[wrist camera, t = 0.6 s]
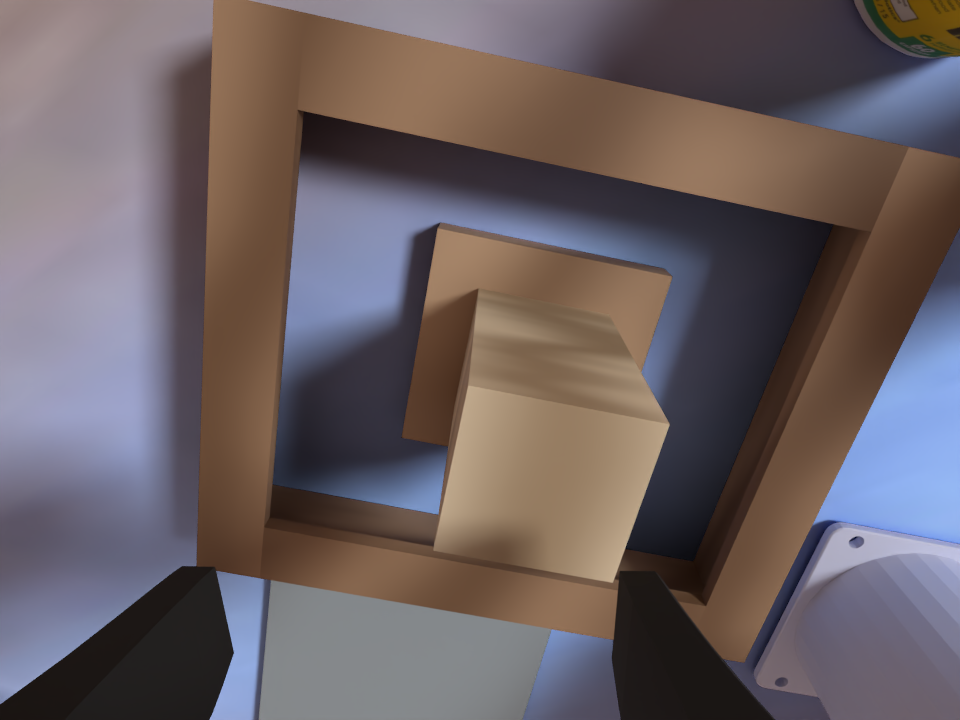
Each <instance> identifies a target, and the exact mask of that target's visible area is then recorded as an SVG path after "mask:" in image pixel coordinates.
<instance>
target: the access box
mask: <svg viewBox="0 0 960 720" xmlns="http://www.w3.org/2000/svg"><path fill="white" fill-rule="evenodd" d="M304 111H306V112H310V113H315V114H320V115H324V116H329V117H334V118H338V119H343V120H348V121H352V122H357V123H362V124H367V125H371V126H376V127H381V128H385V129H390V130H395V131H399V132H404V133H409V134H413V135H418V136H423V137H427V138H432V139H437V140H442V141H446V142H451V143H456V144H460V145H465V146H470V147H474V148H479V149H484V150H488V151H493V152H498V153H502V154H507V155H512V156H516V157H521V158H526V159H531V160H535V161H540V162H545V163H549V164H554V165H559V166H563V167H568V168H573V169H577V170H582V171H587V172H591V173H596V174H601V175H605V176H610V177H615V178H620V179H624V180H629V181H634V182H638V183H643V184H648V185H652V186H657V187H662V188H666V189H671V190H676V191H680V192H685V193H690V194H694V195H699V196H704V197H709V198H713V199H718V200H723V201H727V202H732V203H737V204H741V205H746V206H751V207H755V208H760V209H765V210H769V211H774V212H779V213H784V214H788V215H793V216H798V217H802V218H807V219H812V220H816V221H821V222H826V223H830V224H834V225H833V227H832V229H831V232H830V234H829V237H828V239H827V241H826V244H825V246H824V249H823V251H822V253H821V256H820V258H819V261H818V263H817V265H816V268H815V270H814V273H813V275H812V277H811V280H810V282H809V285H808V287H807V289H806V292H805V294H804V297H803V299H802V301H801V304H800V306H799V309H798V311H797V313H796V316H795V318H794V321H793V323H792V325H791V328H790V330H789V333H788V335H787V337H786V340H785V342H784V345H783V347H782V349H781V352H780V354H779V357H778V359H777V361H776V364H775V366H774V369H773V371H772V373H771V376H770V378H769V381H768V383H767V385H766V388H765V390H764V393H763V395H762V397H761V400H760V402H759V405H758V407H757V409H756V412H755V414H754V417H753V419H752V421H751V424H750V426H749V429H748V431H747V433H746V436H745V438H744V441H743V443H742V445H741V448H740V450H739V453H738V455H737V457H736V460H735V462H734V465H733V467H732V469H731V472H730V474H729V477H728V479H727V481H726V484H725V486H724V489H723V491H722V493H721V496H720V498H719V501H718V503H717V505H716V508H715V510H714V513H713V515H712V517H711V520H710V522H709V525H708V527H707V529H706V532H705V534H704V537H703V539H702V541H701V544H700V546H699V549H698V551H697V553H696V556H695V558H694V561H688V560H683V559H677V558H672V557H666V556H661V555H655V554H650V553H644V552H639V551H634V550H628V549H625V550H624V553H623V556H622V559H621V562H620V564H619V567H618V570H617V573H616V575H615V578H614V581H613V583H611V582H605V581H600V580H594V579H589V578H583V577H577V576H572V575H566V574H561V573H555V572H549V571H544V570H538V569H533V568H527V567H522V566H516V565H510V564H505V563H499V562H494V561H488V560H483V559H477V558H471V557H466V556H460V555H455V554H449V553H443V552H438V551H433V548H434V542H435V535H436V528H437V521H438V515H436V514H431V513H425V512H420V511H414V510H409V509H403V508H398V507H392V506H387V505H381V504H376V503H370V502H365V501H359V500H354V499H348V498H343V497H337V496H332V495H326V494H321V493H315V492H310V491H304V490H299V489H293V488H288V487H282V486H277V485H272V483H273V471H274V459H275V447H276V435H277V423H278V411H279V399H280V388H281V376H282V364H283V352H284V340H285V328H286V316H287V304H288V292H289V281H290V269H291V257H292V245H293V233H294V221H295V209H296V197H297V185H298V174H299V162H300V150H301V138H302V126H303V114H304ZM959 228H960V158H957V157H953V156H948V155H944V154H939V153H935V152H930V151H926V150H921V149H917V148H912V147H908V146H903V145H899V144H894V143H890V142H885V141H881V140H876V139H872V138H867V137H863V136H858V135H854V134H849V133H845V132H840V131H836V130H831V129H827V128H822V127H818V126H813V125H809V124H804V123H799V122H795V121H790V120H786V119H781V118H777V117H772V116H768V115H763V114H759V113H754V112H750V111H745V110H741V109H736V108H732V107H727V106H723V105H718V104H714V103H709V102H705V101H700V100H696V99H691V98H687V97H682V96H678V95H673V94H669V93H664V92H660V91H655V90H651V89H646V88H641V87H637V86H632V85H628V84H623V83H619V82H614V81H610V80H605V79H601V78H596V77H592V76H587V75H583V74H578V73H574V72H569V71H565V70H560V69H556V68H551V67H547V66H542V65H538V64H533V63H529V62H524V61H520V60H515V59H511V58H506V57H502V56H497V55H493V54H488V53H484V52H479V51H474V50H470V49H465V48H461V47H456V46H452V45H447V44H443V43H438V42H434V41H429V40H425V39H420V38H416V37H411V36H407V35H402V34H398V33H393V32H389V31H384V30H380V29H375V28H371V27H366V26H362V25H357V24H353V23H348V22H344V21H339V20H335V19H330V18H326V17H321V16H317V15H312V14H307V13H303V12H298V11H294V10H289V9H285V8H280V7H276V6H271V5H267V4H262V3H258V2H253V1H249V0H214V3H213V36H212V69H211V102H210V136H209V169H208V202H207V235H206V268H205V301H204V334H203V367H202V400H201V433H200V467H199V500H198V533H197V566H199V567H215V569H216V571H221V572H227V573H233V574H238V575H244V576H250V577H256V578H261V579H267V580H273V581H278V582H284V583H290V584H296V585H301V586H307V587H313V588H319V589H324V590H330V591H336V592H342V593H347V594H353V595H359V596H364V597H370V598H376V599H382V600H387V601H393V602H399V603H405V604H410V605H416V606H422V607H428V608H433V609H439V610H445V611H450V612H456V613H462V614H468V615H473V616H479V617H485V618H491V619H496V620H502V621H508V622H514V623H519V624H525V625H531V626H536V627H542V628H548V629H554V630H559V631H565V632H571V633H577V634H582V635H588V636H594V637H600V638H605V639H611V640H614V629H615V618H616V607H617V595H618V584H619V573H620V571H655V572H656V573H657V574H658V575H659V576H660V577H661V578H662V580H663V581H664V582H665V584H666V585H667V587H668V588H669V590H670V591H671V592H672V594H673V595H674V597H675V598H676V599H677V601H678V602H679V603H680V605H681V606H682V607H683V609H684V610H685V612H686V613H687V614H688V616H689V617H690V618H691V619H692V621H693V622H694V623H695V625H696V626H697V627H698V629H699V630H700V631H701V633H702V634H703V635H704V636H705V638H706V639H707V640H708V642H709V643H710V644H711V645H712V647H713V648H714V649H715V650H716V651H717V653H718V654H719V655H720V656H721V658H722V659H726V660H731V661H737V662H743V663H744V662H745V660H746V658H747V656H748V654H749V652H750V650H751V648H752V646H753V644H754V642H755V640H756V638H757V636H758V634H759V632H760V630H761V628H762V626H763V624H764V622H765V619H766V617H767V615H768V613H769V611H770V609H771V607H772V605H773V603H774V601H775V599H776V597H777V595H778V593H779V591H780V589H781V587H782V585H783V583H784V581H785V579H786V577H787V575H788V573H789V571H790V569H791V567H792V565H793V563H794V561H795V559H796V557H797V555H798V553H799V551H800V549H801V547H802V545H803V543H804V541H805V539H806V537H807V535H808V533H809V531H810V529H811V527H812V525H813V523H814V521H815V519H816V516H817V514H818V512H819V510H820V508H821V506H822V504H823V502H824V500H825V498H826V496H827V494H828V492H829V490H830V488H831V486H832V484H833V482H834V480H835V478H836V476H837V474H838V472H839V470H840V468H841V466H842V464H843V462H844V460H845V458H846V456H847V454H848V452H849V450H850V448H851V446H852V444H853V442H854V440H855V438H856V436H857V434H858V432H859V430H860V428H861V426H862V424H863V422H864V420H865V418H866V416H867V413H868V411H869V409H870V407H871V405H872V403H873V401H874V399H875V397H876V395H877V393H878V391H879V389H880V387H881V385H882V383H883V381H884V379H885V377H886V375H887V373H888V371H889V369H890V367H891V365H892V363H893V361H894V359H895V357H896V355H897V353H898V351H899V349H900V347H901V345H902V343H903V341H904V339H905V337H906V335H907V333H908V331H909V329H910V327H911V325H912V323H913V321H914V319H915V317H916V315H917V313H918V310H919V308H920V306H921V304H922V302H923V300H924V298H925V296H926V294H927V292H928V290H929V288H930V286H931V284H932V282H933V280H934V278H935V276H936V274H937V272H938V270H939V268H940V266H941V264H942V262H943V260H944V258H945V256H946V254H947V252H948V250H949V248H950V246H951V244H952V242H953V240H954V238H955V236H956V234H957V232H958V230H959ZM671 280H672V276H671V275H670V274H669V273H668V272H667V271H666V270H665V269H663V268H658V267H653V266H649V265H644V264H639V263H634V262H629V261H624V260H620V259H615V258H610V257H605V256H600V255H595V254H591V253H586V252H581V251H576V250H571V249H566V248H561V247H557V246H552V245H547V244H542V243H537V242H532V241H528V240H523V239H518V238H513V237H508V236H503V235H499V234H494V233H489V232H484V231H479V230H474V229H470V228H465V227H460V226H455V225H450V224H445V223H440V225H439V227H438V229H437V235H436V241H435V247H434V252H433V258H432V264H431V270H430V276H429V281H428V287H427V293H426V299H425V304H424V310H423V316H422V322H421V328H420V333H419V339H418V345H417V351H416V357H415V362H414V368H413V374H412V380H411V385H410V391H409V397H408V403H407V409H406V414H405V420H404V426H403V432H402V437H401V438H406V439H411V440H416V441H422V442H427V443H432V444H438V445H443V446H449V439H450V432H451V426H452V419H453V412H454V405H455V401H456V396H457V391H458V386H459V381H460V376H461V371H462V367H463V362H464V357H465V352H466V347H467V342H468V337H469V333H470V328H471V323H472V318H473V313H474V308H475V303H476V299H477V294H478V289H479V288H480V289H485V290H490V291H495V292H500V293H505V294H510V295H514V296H519V297H524V298H529V299H534V300H539V301H544V302H549V303H554V304H559V305H564V306H569V307H574V308H579V309H584V310H589V311H594V312H599V313H604V314H609V316H610V317H611V319H612V321H613V323H614V325H615V326H616V328H617V330H618V332H619V334H620V335H621V337H622V339H623V341H624V343H625V344H626V346H627V348H628V350H629V352H630V353H631V355H632V357H633V359H634V361H635V363H636V364H637V366H638V368H639V370H640V372H642V368H643V365H644V362H645V359H646V356H647V353H648V350H649V347H650V344H651V341H652V338H653V335H654V332H655V329H656V326H657V323H658V320H659V317H660V314H661V311H662V307H663V304H664V301H665V298H666V295H667V292H668V289H669V286H670V283H671Z"/></svg>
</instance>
